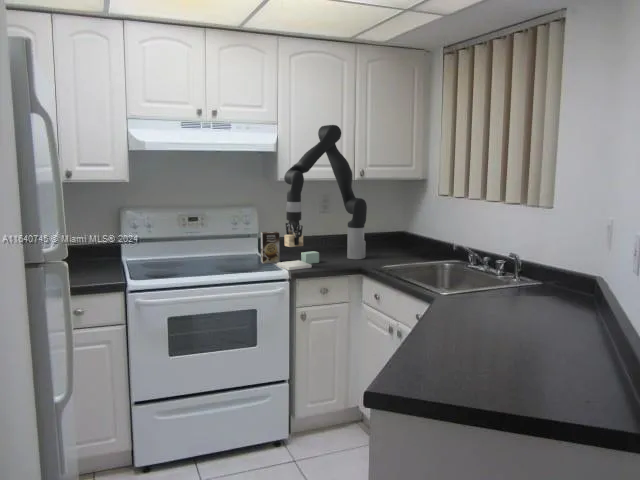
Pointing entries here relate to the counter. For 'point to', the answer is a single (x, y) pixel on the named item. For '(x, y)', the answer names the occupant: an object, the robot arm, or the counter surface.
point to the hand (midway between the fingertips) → (293, 244)
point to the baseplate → (294, 265)
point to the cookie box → (269, 247)
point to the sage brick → (310, 257)
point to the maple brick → (292, 240)
